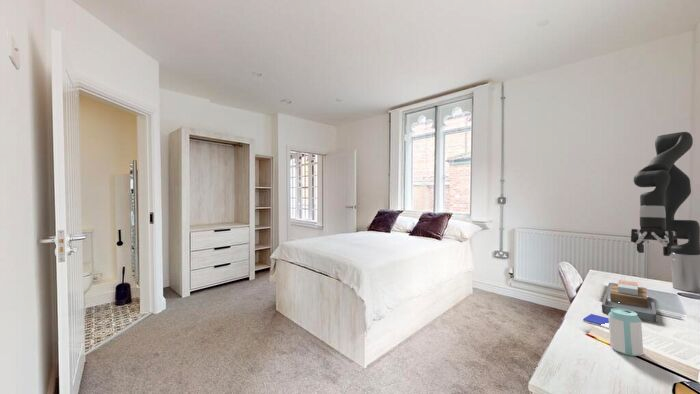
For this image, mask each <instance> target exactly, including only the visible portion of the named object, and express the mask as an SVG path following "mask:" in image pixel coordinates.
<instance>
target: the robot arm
mask: <svg viewBox="0 0 700 394" xmlns="http://www.w3.org/2000/svg"><path fill="white" fill-rule="evenodd" d="M693 143H694V139H693V136H692V134H691V133H690V132H688V131H681V132H680V131H679V132H673V133H668V134H661V135H658V136H656V138H655V140H654V147H655V153H656V156H654V157H652V159H651V160H650V162H649V164H647V165H646V166H645V167H643V168H642V169H640V170H638V171H637V172H636V173H635V175H634V177H633V183H634V185H635V186H637V187H638V188H654V189H653V190H651V191H648V192H643V193H641V194H640V196H639V204H640V206H639V227H640V229H637V228H631V229H630V230H631V232H630V242H632V243H633V244H636V251H637V252H638V253H639V254H644V253H645V245H644V244H645V242H646V241H647V242H648V241H658V243H660V244H662V249H663V250H662V252H663V253H662V255H663V256H665V257H670V266H671V267H670V268H671V281H672V283H671V285H672V288H674V289H676V290H678V291H679V290H680V291H684V292H691V293H692V292H693V293H700V223H699V222H698V221H697V220H695V219H694V220H692V219H675V215H676V213H677V211H678V209H679V208H680V207H681V205H682V204H684V202H685V201H687V199H688V198H689V196H690V195H691V193H692V187H691V179H690V177H689V176H688V175H687V174H686V173H685V172H684V171H683V170H682V169H680V168H679V167H678V166H677V165H675V163H676V162H677V161H678V160H679V159H681V157H683V156H684V155H685V154H686V153H687V152H688V151H689V150H691V148H692V146H693ZM639 234H640V236H639ZM678 239H679V240H688V241H687V242H685V243H683V244H679V243H678Z"/></svg>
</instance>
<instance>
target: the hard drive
mask: <svg viewBox="0 0 700 394" xmlns="http://www.w3.org/2000/svg"><path fill="white" fill-rule="evenodd" d="M582 322H585V323H588V324H591V325H596V326H598V325H601V324H605V323H609V318H608V317H606V316H601V315H598V314H594V313H590V314H588V315H587V316H585V317H584V318H583V319H582Z"/></svg>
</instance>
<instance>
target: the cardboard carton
mask: <svg viewBox="0 0 700 394" xmlns="http://www.w3.org/2000/svg"><path fill="white" fill-rule="evenodd" d="M618 284H619V283H614V282H612V283H611V288H610V292H609V295H610V296H609V297H610V301H613V302H620V303H624V304H630V305H636V306H642V307H648V308H649V305H648V296H647V295H648V294H647V293H648V292H647V287H643V286H638V295H632V294H625V293H619V292H618Z"/></svg>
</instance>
